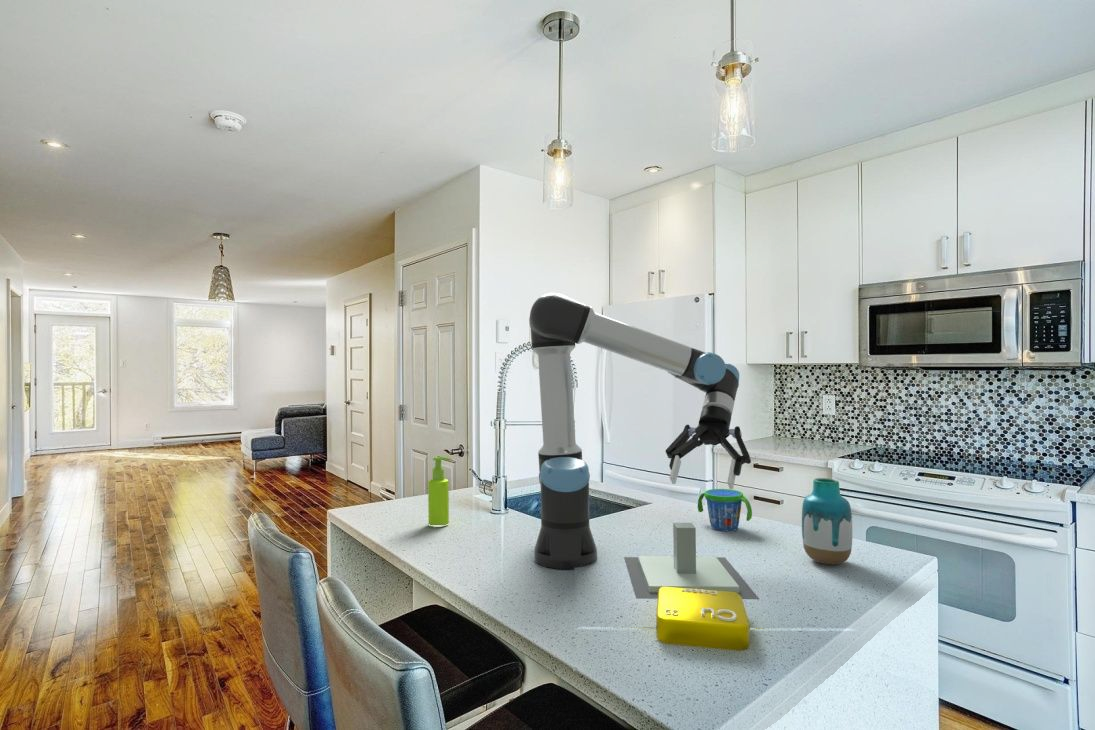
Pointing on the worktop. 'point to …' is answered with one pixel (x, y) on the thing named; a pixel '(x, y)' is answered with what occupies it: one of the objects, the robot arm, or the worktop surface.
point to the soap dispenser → (438, 495)
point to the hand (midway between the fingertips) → (700, 483)
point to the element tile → (702, 618)
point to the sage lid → (685, 566)
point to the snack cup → (724, 508)
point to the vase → (827, 523)
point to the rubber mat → (643, 592)
